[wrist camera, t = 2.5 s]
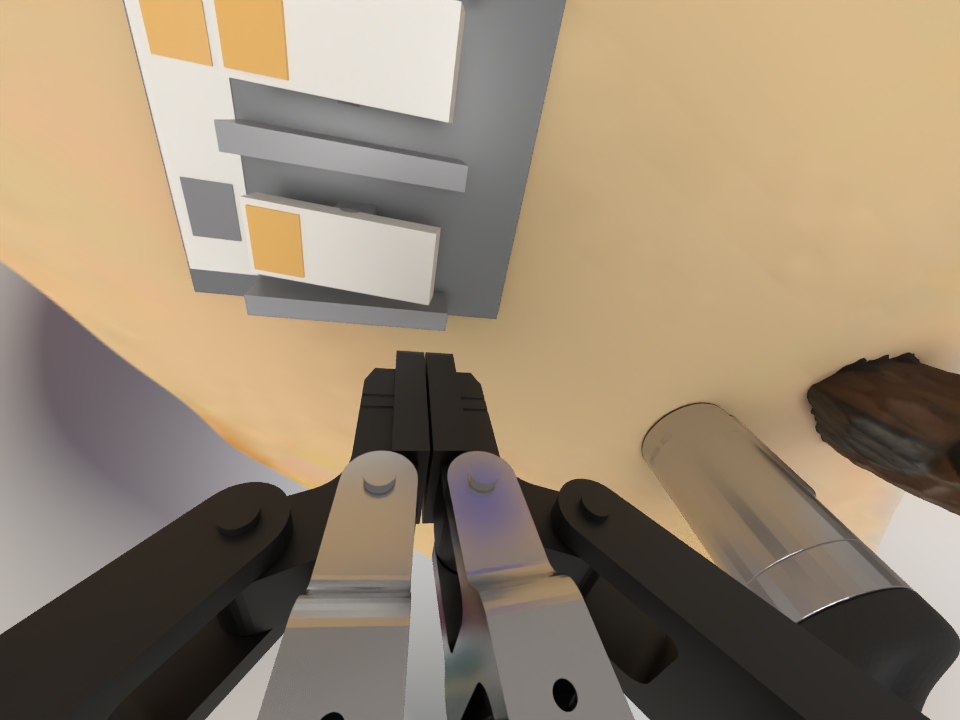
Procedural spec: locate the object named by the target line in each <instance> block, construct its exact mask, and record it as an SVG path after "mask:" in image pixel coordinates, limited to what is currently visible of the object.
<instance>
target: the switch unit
mask: <svg viewBox="0 0 960 720" xmlns="http://www.w3.org/2000/svg"><path fill="white" fill-rule="evenodd" d="M457 1H461V2H462V4H463V7H464V11H465V20H464V29H463V37H462V46H461V55H460V64H459V73H458V81H457V90H456V99H455V108H454V116H453V124H452V123H447V122H443V121H438V120H433V119H428V118H423V117H418V116H413V115H409V114H404V113H399V112H394V111H389V110H384V109H380V108H375V107H370V106H365V105H360V107H356V106H351V105H346V104H342V103H337V100H336V99H331V98H326V97H321V96H316V95H312V94H307V93H302V92H297V91H292V90H287V89H282V88H278V87H273V86H268V85H263V84H258V83H253V82H249V81H244V80H239V79H234V78H230V77H225V76H220V71H219V64H218V58H217V52H216V45H215V39H214V33H213V26H212V20H211V14H210V7H209V1H208V0H123V3H124V7H125V11H126V15H127V20H128V24H129V28H130V32H131V36H132V40H133V44H134V48H135V52H136V56H137V60H138V64H139V68H140V72H141V76H142V80H143V84H144V88H145V92H146V96H147V100H148V104H149V108H150V112H151V116H152V120H153V124H154V128H155V132H156V137H157V141H158V145H159V149H160V153H161V157H162V161H163V165H164V169H165V173H166V177H167V181H168V185H169V189H170V193H171V197H172V201H173V205H174V209H175V213H176V217H177V221H178V225H179V229H180V233H181V237H182V241H183V245H184V249H185V253H186V258H187V262H188V266H189V270H190V274H191V278H192V282H193V286H194V290H195V292H205V293H216V294H227V295H237V296H244V297H245V303H246V308H247V314H248V315H254V316H266V317H278V318H291V319H303V320H315V321H327V322H340V323H352V324H364V325H377V326H389V327H401V328H414V329H426V330H438V331H445V329H446V322H447V315H457V316H467V317H478V318H489V319H497V314H498V310H499V305H500V300H501V296H502V291H503V287H504V282H505V278H506V273H507V268H508V264H509V259H510V255H511V250H512V246H513V241H514V236H515V232H516V227H517V223H518V218H519V214H520V209H521V204H522V200H523V195H524V191H525V186H526V181H527V177H528V172H529V168H530V163H531V159H532V154H533V149H534V145H535V140H536V136H537V131H538V127H539V122H540V117H541V113H542V108H543V104H544V99H545V95H546V90H547V85H548V81H549V76H550V72H551V67H552V62H553V58H554V53H555V49H556V44H557V40H558V35H559V30H560V26H561V21H562V17H563V12H564V8H565V3H566V0H457ZM256 192H259V193H264V194H269V195H274V196H279V197H284V198H290V199H295V200H300V201H305V202H310V203H315V204H321V205H326V206H331V207H336V208H340V206H353V207H357V208H359V209H360V212H362V213H367V214H372V215H377V216H383V217H388V218H393V219H398V220H403V221H409V222H414V223H419V224H424V225H429V226H434V227H440V228H441V230H440V239H439V248H438V257H437V266H436V274H435V283H434V292H433V297H432V299H431V301H430V303H429V305H424V304H419V303H413V302H408V301H402V300H397V299H391V298H386V297H380V296H375V295H370V294H364V293H359V292H353V291H348V290H342V289H337V288H332V287H326V286H321V285H315V284H310V283H304V282H299V281H293V280H288V279H283V278H277V277H272V276H266V275H261V274H255V273H251V267H250V261H249V254H248V248H247V242H246V235H245V229H244V223H243V216H242V210H241V204H240V197H239V196H243V195H247V194H251V193H256Z"/></svg>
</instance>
